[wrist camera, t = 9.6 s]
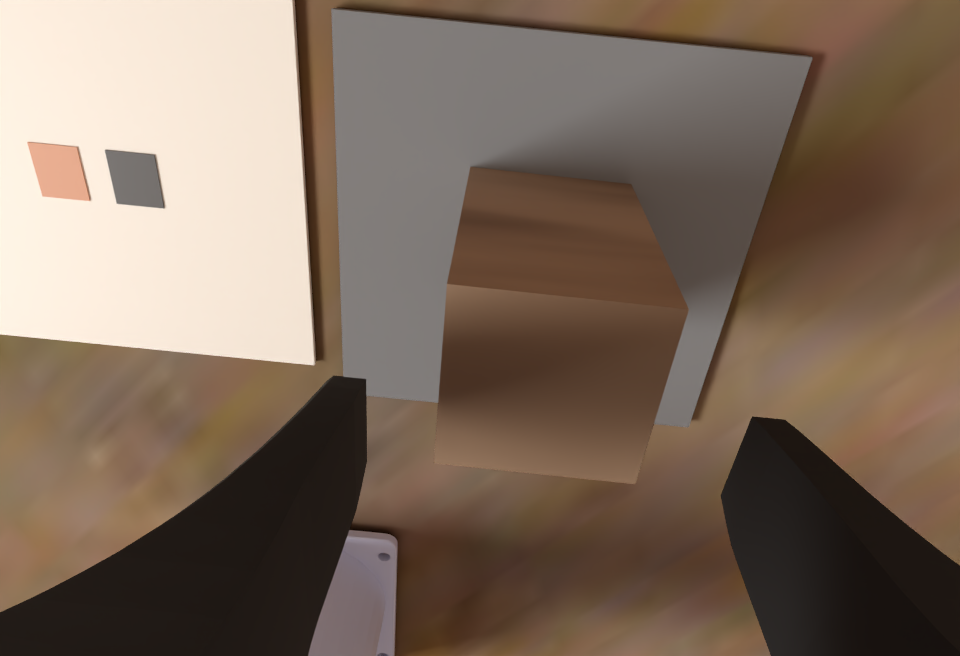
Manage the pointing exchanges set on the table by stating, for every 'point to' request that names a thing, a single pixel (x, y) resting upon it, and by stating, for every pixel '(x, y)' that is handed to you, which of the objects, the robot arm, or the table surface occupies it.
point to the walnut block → (554, 329)
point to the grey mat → (540, 167)
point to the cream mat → (154, 176)
